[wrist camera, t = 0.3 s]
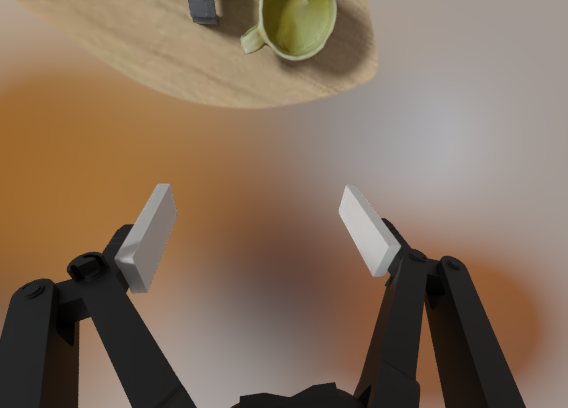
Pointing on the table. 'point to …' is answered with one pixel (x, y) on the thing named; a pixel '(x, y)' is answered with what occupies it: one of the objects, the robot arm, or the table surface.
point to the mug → (292, 28)
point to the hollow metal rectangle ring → (203, 12)
